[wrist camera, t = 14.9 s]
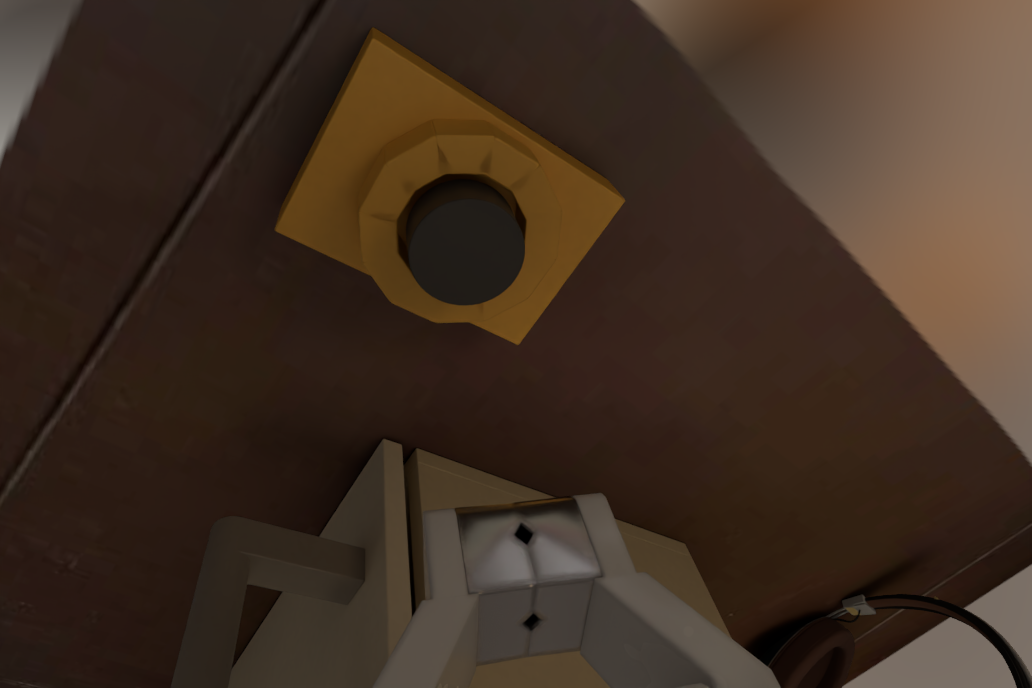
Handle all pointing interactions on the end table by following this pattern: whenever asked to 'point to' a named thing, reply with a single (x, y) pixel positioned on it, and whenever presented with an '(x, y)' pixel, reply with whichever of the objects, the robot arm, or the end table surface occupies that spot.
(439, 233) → the button
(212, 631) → the door
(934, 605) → the headphones
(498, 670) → the cupboard
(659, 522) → the end table surface
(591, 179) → the switch box
